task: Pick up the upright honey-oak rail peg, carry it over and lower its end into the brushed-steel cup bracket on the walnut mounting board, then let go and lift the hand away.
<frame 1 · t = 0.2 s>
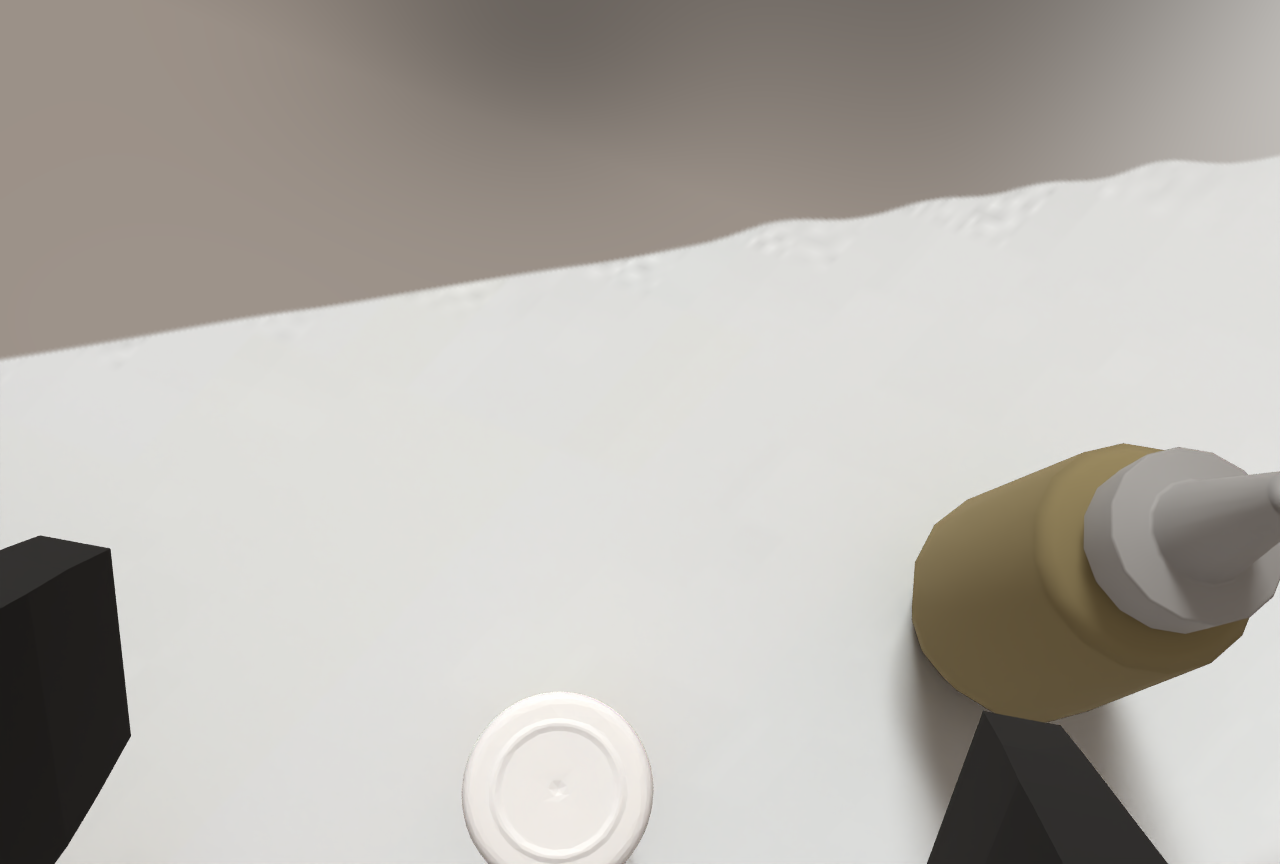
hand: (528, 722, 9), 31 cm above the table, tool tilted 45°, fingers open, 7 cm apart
squeeze bottle: (983, 619, 41), on the table
sprinkles bottle: (558, 790, 38), on the table
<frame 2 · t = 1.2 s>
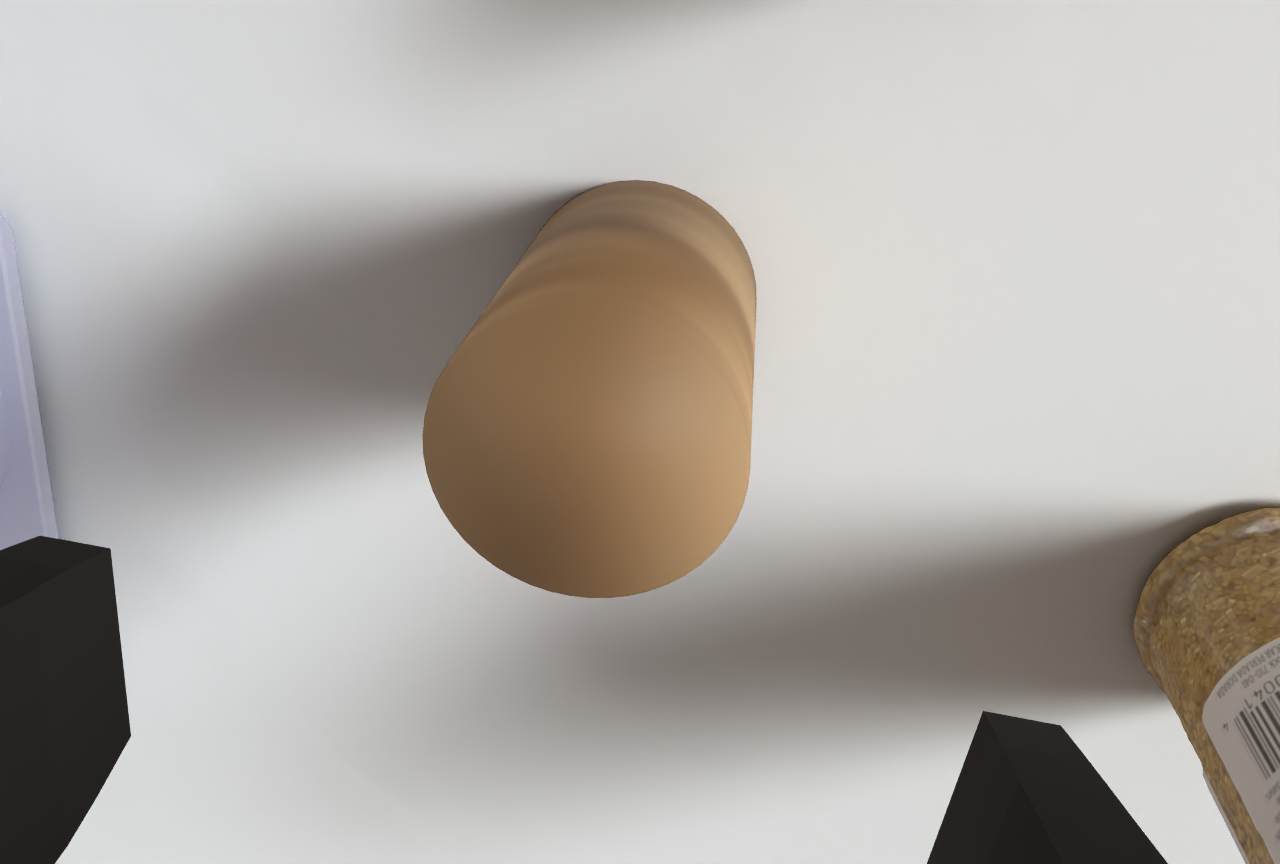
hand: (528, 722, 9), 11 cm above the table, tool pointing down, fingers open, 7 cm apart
oak rail peg: (638, 297, 18), on the table
sprinkles bottle: (1255, 596, 20), on the table
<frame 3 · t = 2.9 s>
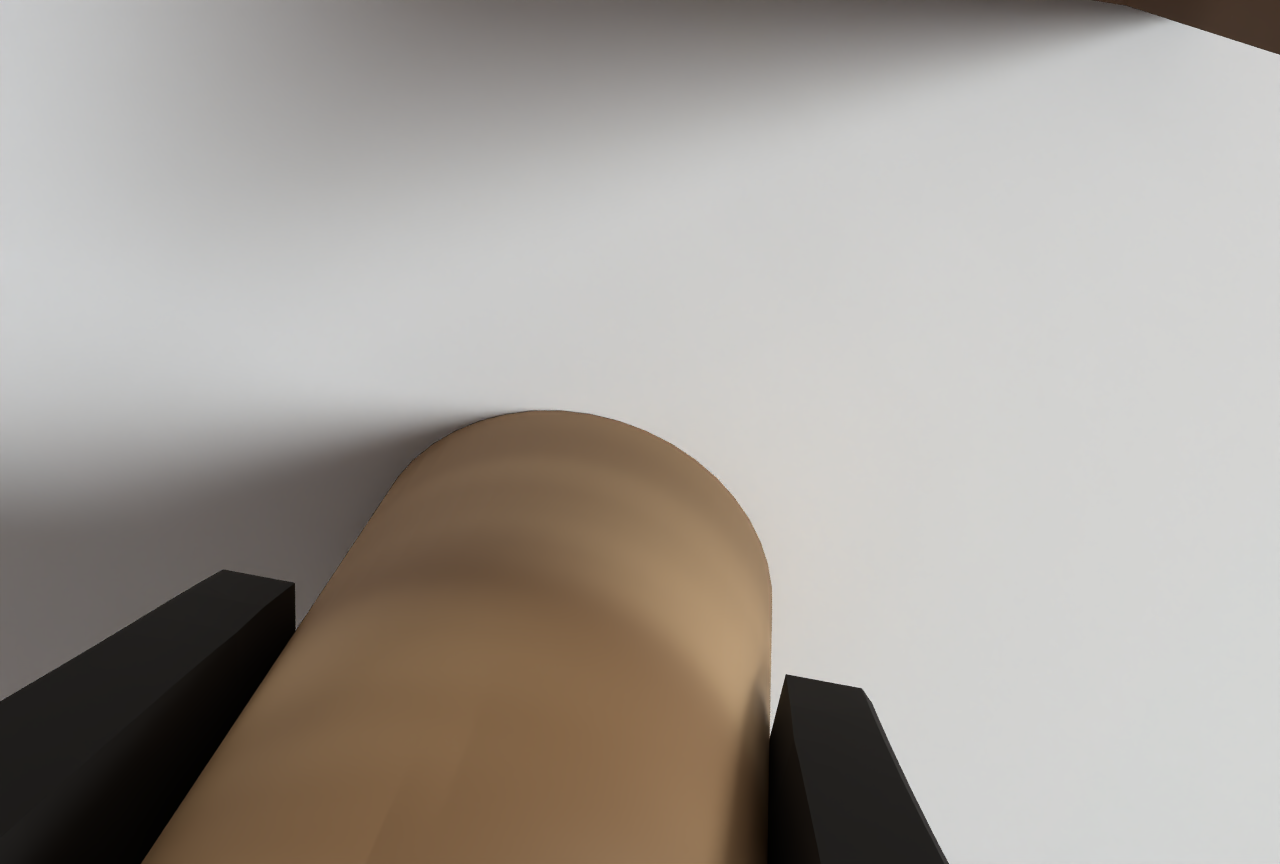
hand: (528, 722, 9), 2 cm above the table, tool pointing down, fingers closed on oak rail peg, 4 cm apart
oak rail peg: (567, 594, 11), on the table, touching gripper
when the fingers open (4 cm above the table, at t = 6.3 s): oak rail peg drops 2 cm, resting on cup bracket.
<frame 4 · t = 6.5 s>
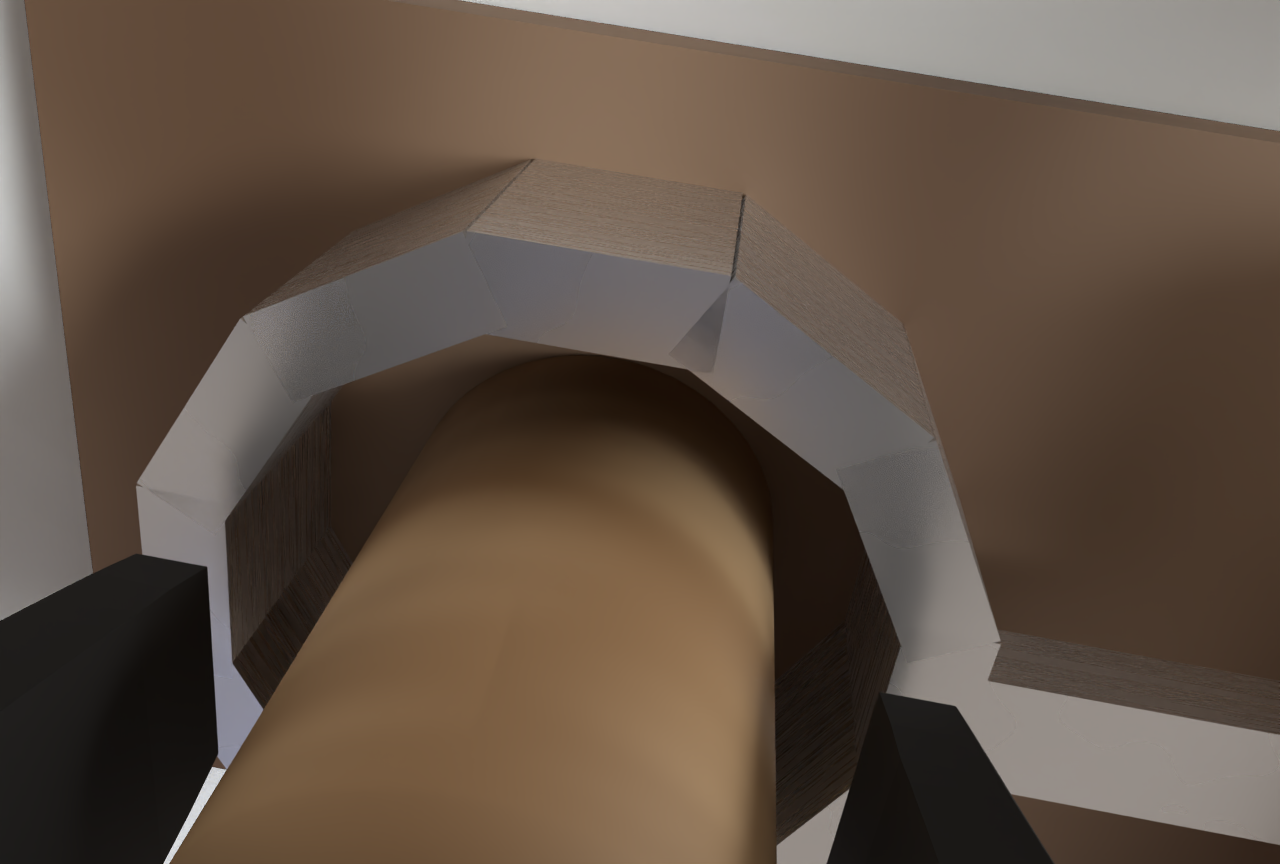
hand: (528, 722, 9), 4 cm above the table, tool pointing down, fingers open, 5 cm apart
cup bracket: (603, 478, 13), on the table
oak rail peg: (591, 521, 12), point 1 cm above the table, touching cup bracket
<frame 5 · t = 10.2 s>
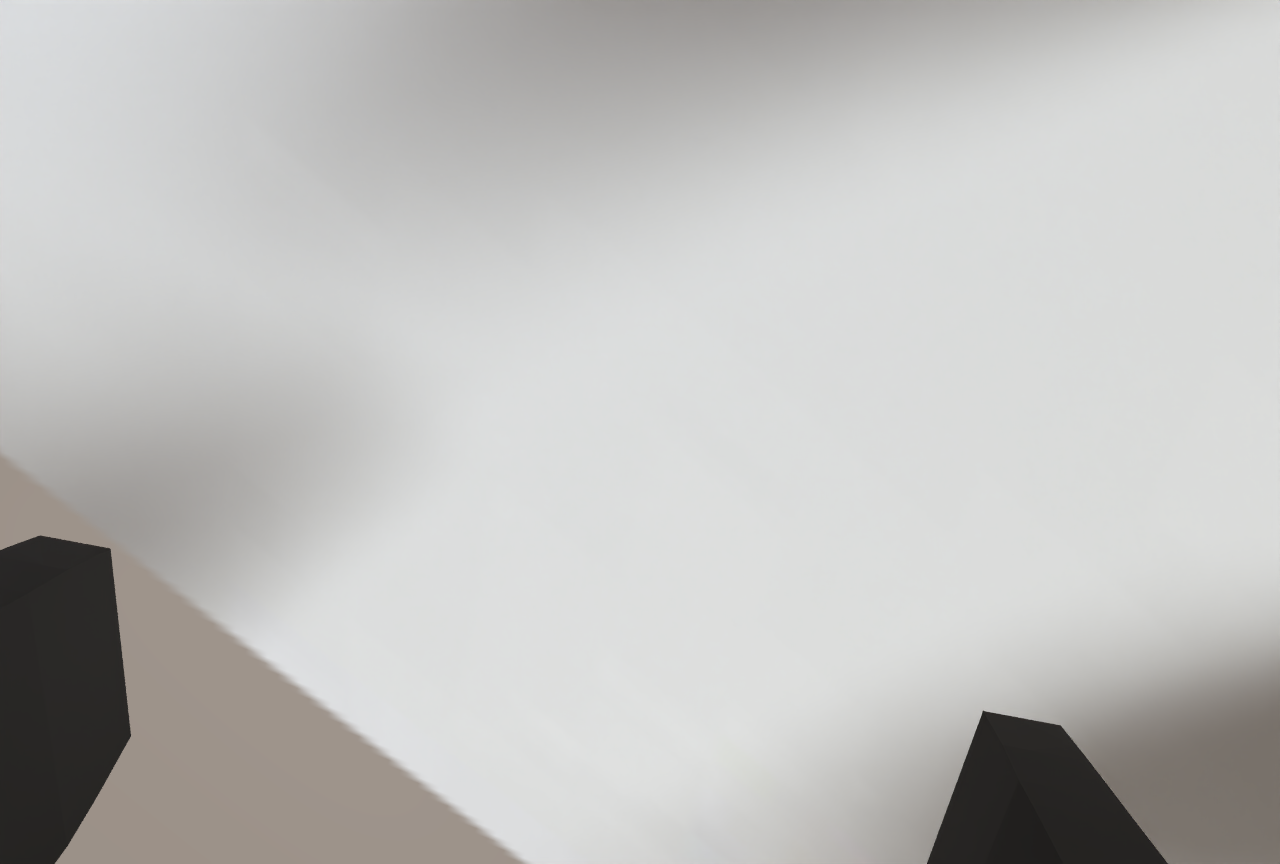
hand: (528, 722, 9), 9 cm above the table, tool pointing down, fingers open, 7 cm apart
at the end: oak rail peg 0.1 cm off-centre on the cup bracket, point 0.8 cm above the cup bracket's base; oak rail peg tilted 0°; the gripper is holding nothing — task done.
